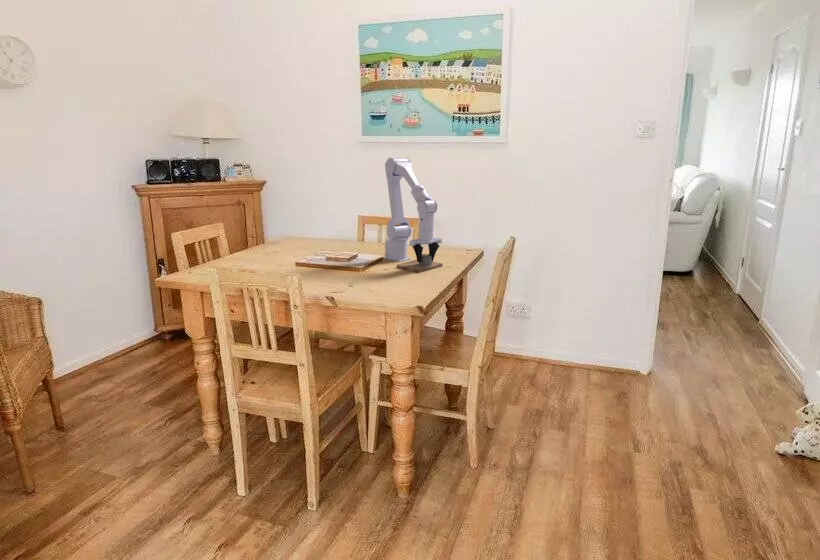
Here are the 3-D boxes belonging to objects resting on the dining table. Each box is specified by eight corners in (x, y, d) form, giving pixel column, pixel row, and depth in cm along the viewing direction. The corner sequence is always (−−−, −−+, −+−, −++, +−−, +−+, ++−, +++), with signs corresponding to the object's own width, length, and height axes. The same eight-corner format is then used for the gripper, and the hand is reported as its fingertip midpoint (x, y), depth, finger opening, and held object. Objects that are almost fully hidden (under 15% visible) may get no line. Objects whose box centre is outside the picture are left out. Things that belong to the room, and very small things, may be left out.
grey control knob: (432, 266, 233) (432, 256, 232) (420, 266, 232) (420, 256, 231) (429, 263, 238) (430, 253, 237) (418, 263, 237) (418, 253, 236)
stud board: (396, 267, 234) (396, 258, 233) (420, 261, 246) (420, 252, 245) (419, 272, 226) (419, 263, 225) (442, 266, 238) (442, 257, 237)
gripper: (416, 231, 224) (415, 265, 228) (446, 229, 232) (444, 261, 235) (407, 229, 230) (406, 261, 234) (437, 226, 237) (435, 258, 241)
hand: (425, 261), depth 235 cm, fingers closed on grey control knob, 5 cm apart
